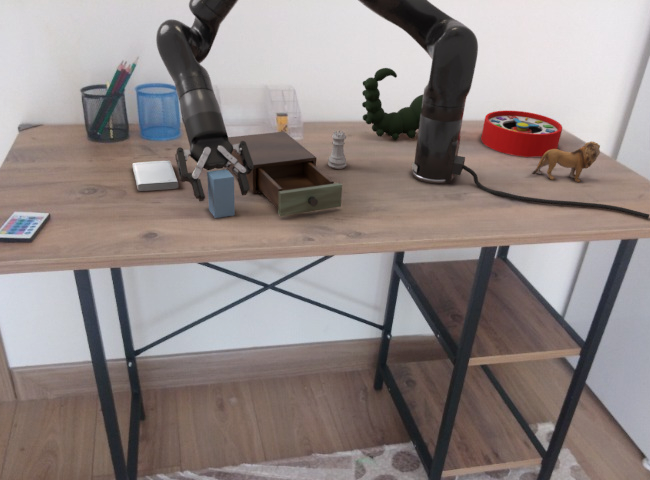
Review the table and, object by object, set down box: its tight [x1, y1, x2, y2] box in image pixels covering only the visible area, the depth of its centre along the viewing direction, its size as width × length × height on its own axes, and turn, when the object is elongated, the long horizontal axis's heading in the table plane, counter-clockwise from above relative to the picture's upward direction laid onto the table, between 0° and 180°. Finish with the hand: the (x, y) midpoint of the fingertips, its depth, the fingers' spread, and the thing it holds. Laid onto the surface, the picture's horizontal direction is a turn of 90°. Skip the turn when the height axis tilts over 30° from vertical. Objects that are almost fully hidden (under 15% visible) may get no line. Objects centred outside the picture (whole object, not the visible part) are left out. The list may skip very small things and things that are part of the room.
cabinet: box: [228, 131, 317, 195], centre depth 142 cm, size 17×14×6 cm
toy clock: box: [480, 110, 563, 158], centre depth 171 cm, size 20×6×20 cm
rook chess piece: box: [327, 130, 347, 170], centre depth 149 cm, size 4×4×8 cm
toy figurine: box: [361, 67, 423, 141], centre depth 167 cm, size 9×19×25 cm
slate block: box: [206, 168, 236, 219], centre depth 124 cm, size 4×4×8 cm
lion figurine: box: [531, 140, 601, 183], centre depth 151 cm, size 15×5×9 cm, turn 92°
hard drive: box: [132, 160, 179, 192], centre depth 138 cm, size 2×8×12 cm
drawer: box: [256, 161, 343, 217], centre depth 132 cm, size 18×13×5 cm
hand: (224, 196), depth 123 cm, fingers open, 8 cm apart
